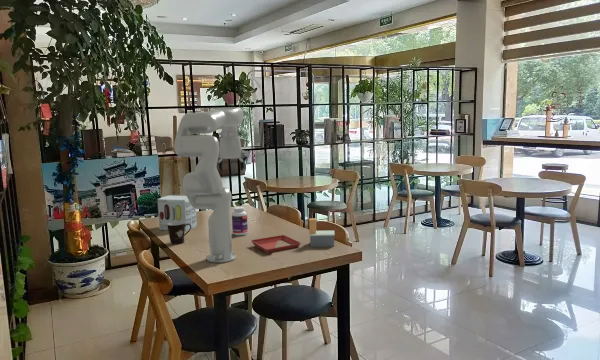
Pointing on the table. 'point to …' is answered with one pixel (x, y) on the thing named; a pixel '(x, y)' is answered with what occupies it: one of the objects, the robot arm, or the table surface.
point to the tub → (321, 241)
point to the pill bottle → (239, 221)
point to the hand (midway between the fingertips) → (231, 170)
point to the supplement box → (176, 211)
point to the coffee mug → (177, 232)
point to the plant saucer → (274, 243)
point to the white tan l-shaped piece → (318, 233)
